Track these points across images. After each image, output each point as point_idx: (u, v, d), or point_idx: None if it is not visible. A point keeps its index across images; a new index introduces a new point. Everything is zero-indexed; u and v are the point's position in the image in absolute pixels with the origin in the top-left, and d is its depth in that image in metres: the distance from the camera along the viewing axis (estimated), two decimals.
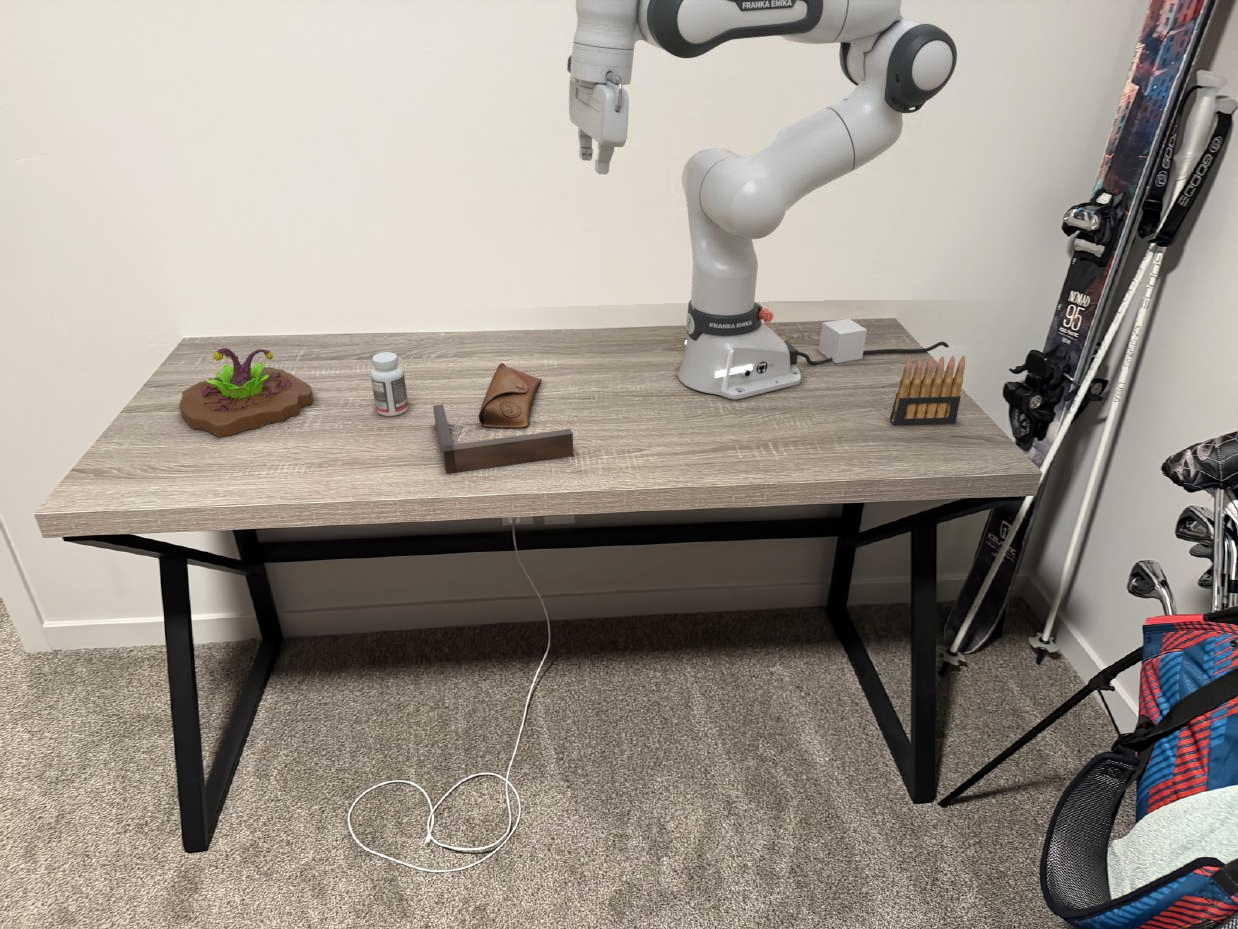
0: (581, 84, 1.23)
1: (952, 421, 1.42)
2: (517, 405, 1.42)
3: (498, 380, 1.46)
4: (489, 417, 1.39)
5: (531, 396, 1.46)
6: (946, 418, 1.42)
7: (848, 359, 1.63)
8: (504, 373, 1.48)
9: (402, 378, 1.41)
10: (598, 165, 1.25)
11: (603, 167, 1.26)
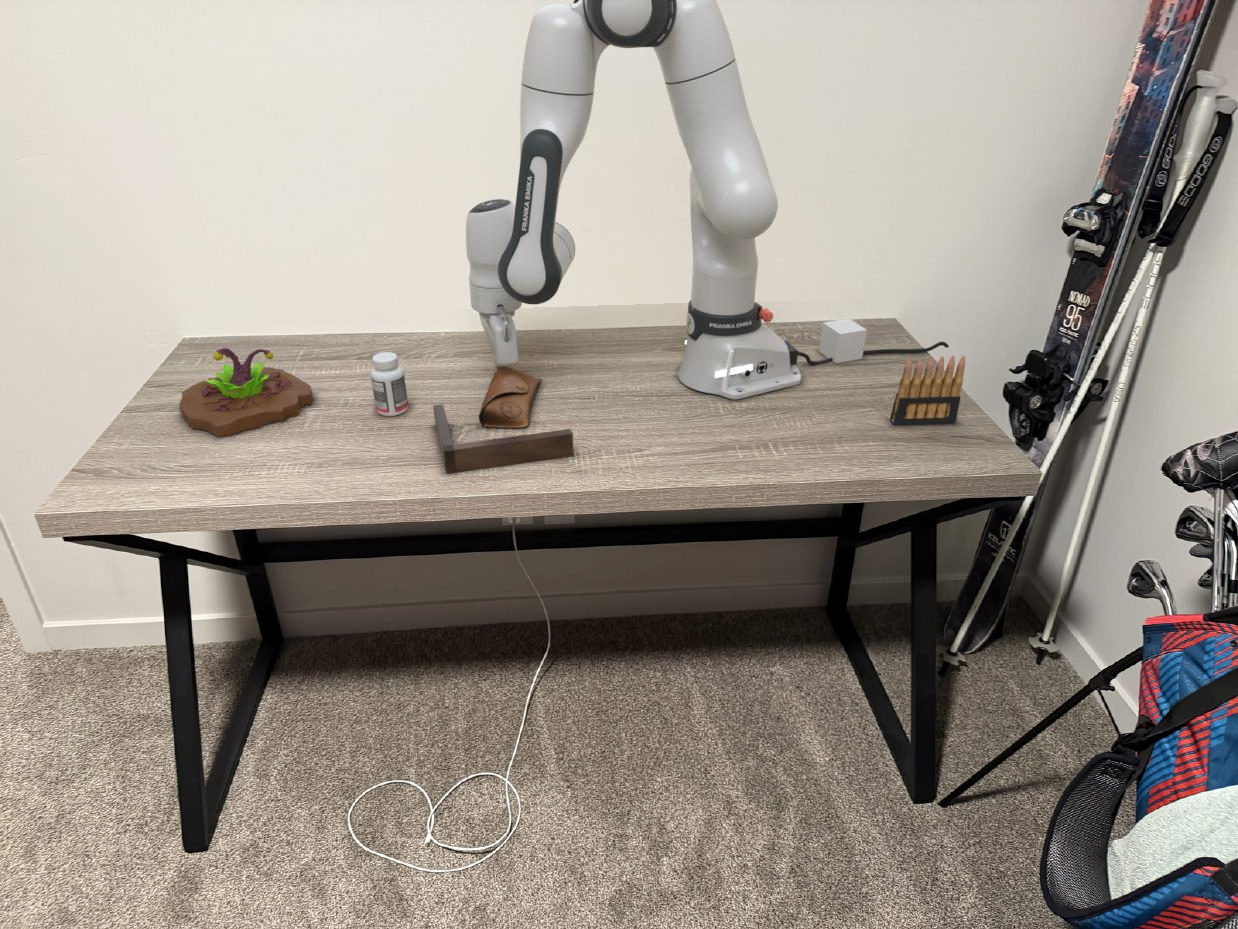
0: (480, 312, 1.48)
1: (952, 421, 1.42)
2: (517, 405, 1.42)
3: (498, 380, 1.46)
4: (489, 417, 1.39)
5: (531, 396, 1.46)
6: (946, 418, 1.42)
7: (848, 359, 1.63)
8: (504, 373, 1.48)
9: (402, 378, 1.41)
10: (497, 365, 1.53)
11: None
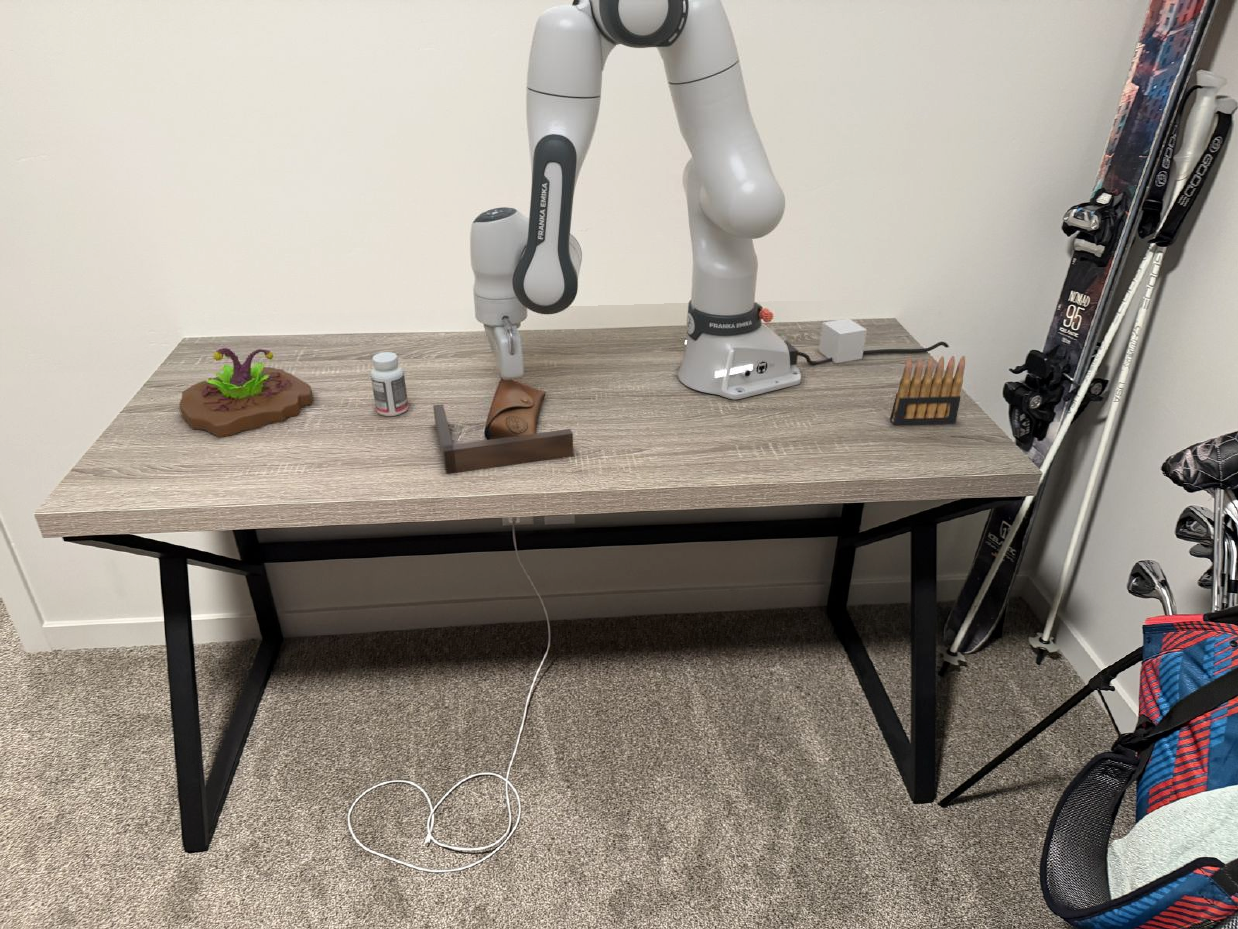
0: None
1: (952, 421, 1.42)
2: (523, 420, 1.37)
3: (502, 393, 1.41)
4: (495, 433, 1.35)
5: (536, 410, 1.42)
6: (946, 418, 1.42)
7: (848, 359, 1.63)
8: (508, 387, 1.44)
9: (402, 378, 1.41)
10: None
11: None
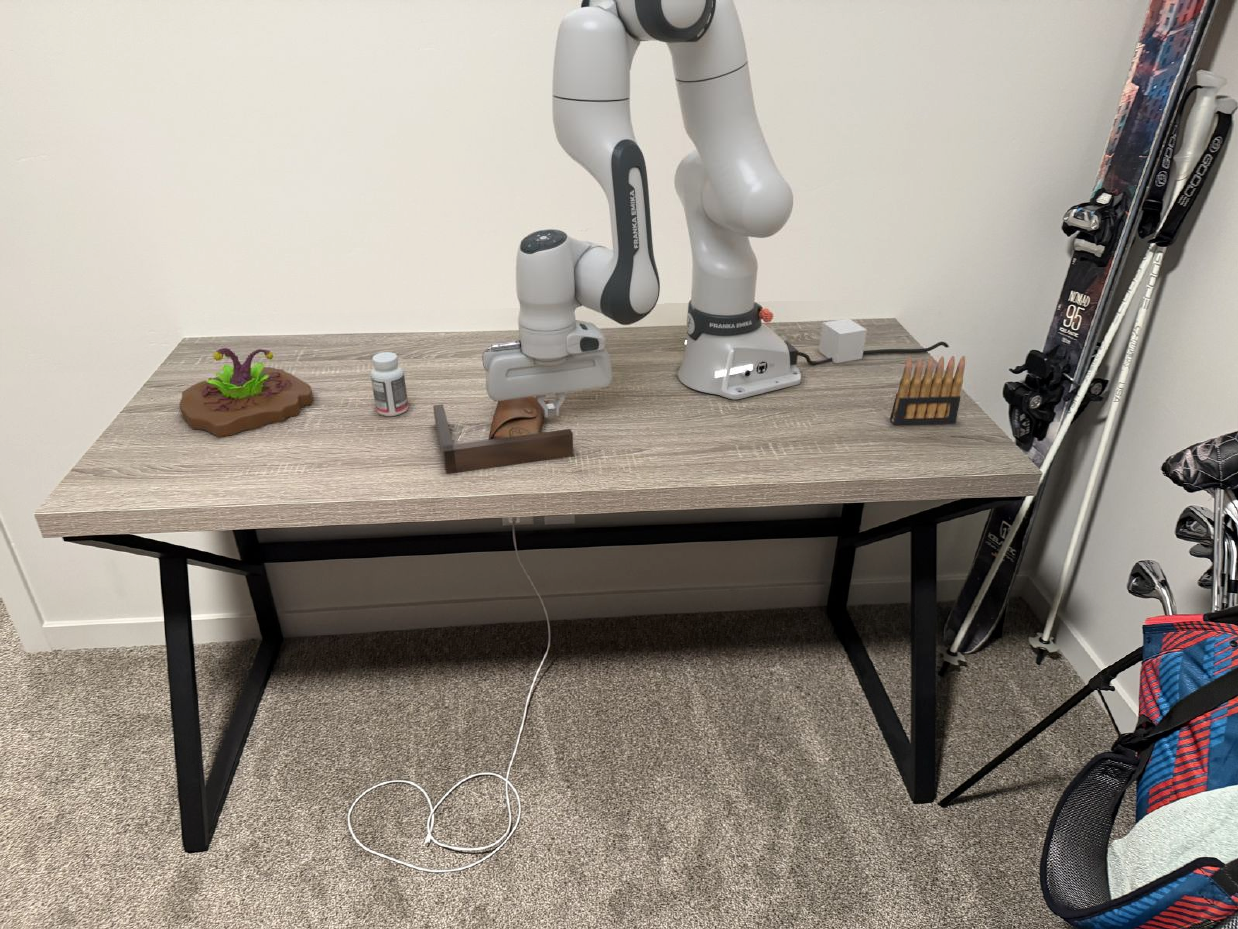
0: None
1: (952, 421, 1.42)
2: (527, 431, 1.34)
3: (505, 404, 1.38)
4: None
5: (540, 420, 1.39)
6: (946, 418, 1.42)
7: (848, 359, 1.63)
8: None
9: (402, 378, 1.41)
10: None
11: (543, 411, 1.39)
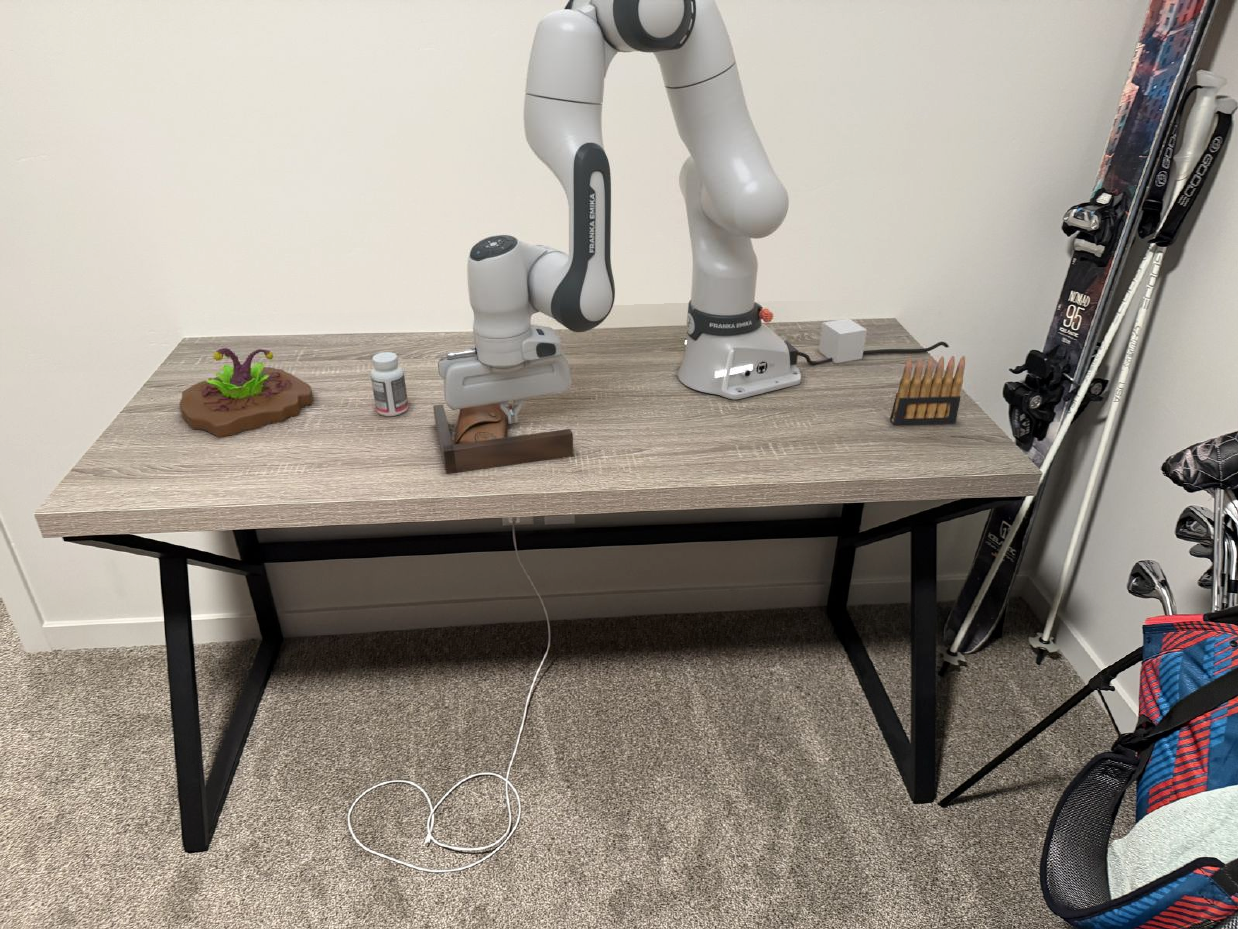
0: None
1: (952, 421, 1.42)
2: (493, 435, 1.33)
3: (468, 408, 1.37)
4: None
5: (505, 424, 1.38)
6: (946, 418, 1.42)
7: (848, 359, 1.63)
8: None
9: (402, 378, 1.41)
10: None
11: (507, 417, 1.38)
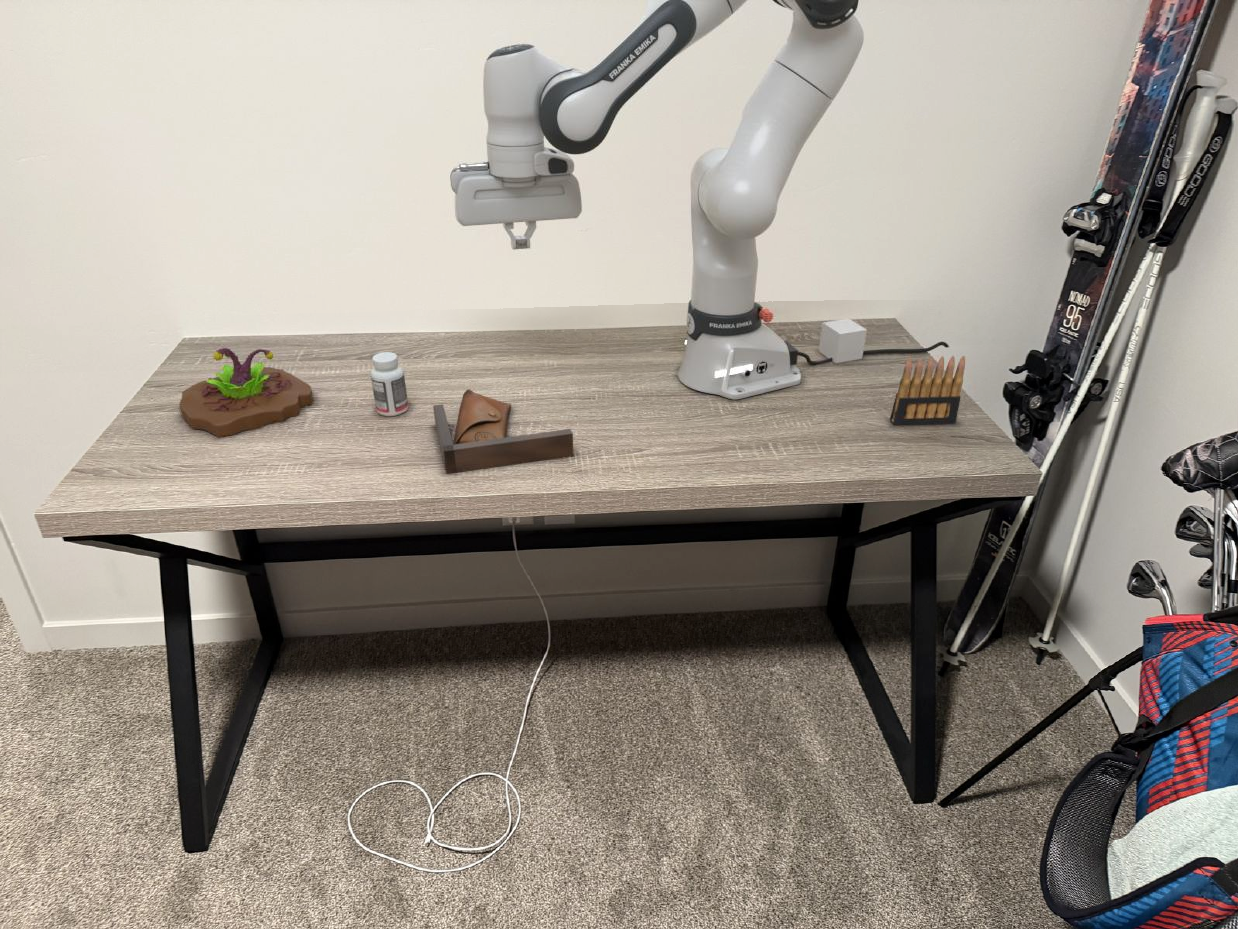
0: None
1: (952, 421, 1.42)
2: (493, 435, 1.33)
3: (468, 408, 1.37)
4: None
5: (505, 424, 1.38)
6: (946, 418, 1.42)
7: (848, 359, 1.63)
8: (474, 401, 1.39)
9: (402, 378, 1.41)
10: None
11: (511, 242, 1.39)
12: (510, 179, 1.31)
